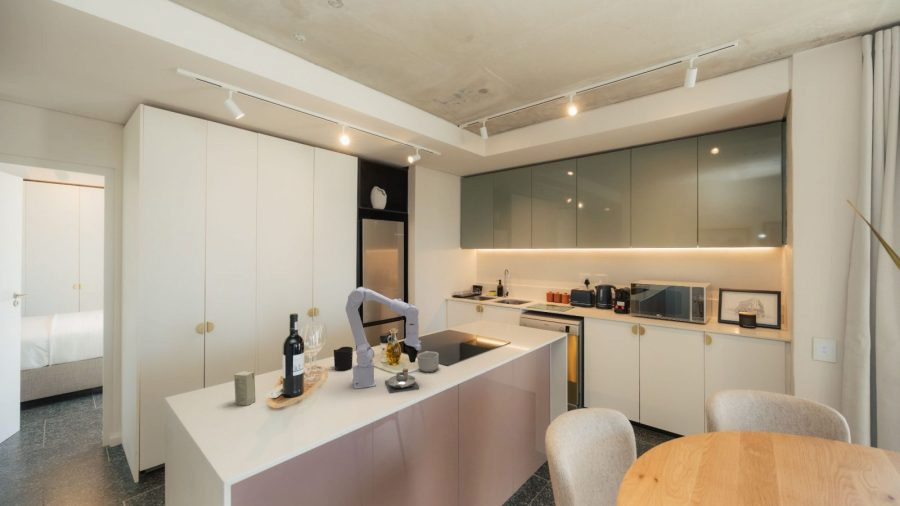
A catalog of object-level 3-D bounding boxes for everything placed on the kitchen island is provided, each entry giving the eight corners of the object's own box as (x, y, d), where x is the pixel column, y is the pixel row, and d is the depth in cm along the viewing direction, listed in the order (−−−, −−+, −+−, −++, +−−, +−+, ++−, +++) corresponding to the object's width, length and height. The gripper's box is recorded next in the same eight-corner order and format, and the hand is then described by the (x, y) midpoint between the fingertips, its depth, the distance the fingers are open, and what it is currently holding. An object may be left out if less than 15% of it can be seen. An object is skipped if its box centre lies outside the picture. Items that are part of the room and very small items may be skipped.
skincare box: (256, 401, 145) (255, 371, 144) (247, 406, 141) (246, 375, 140) (243, 399, 146) (242, 370, 146) (234, 404, 142) (233, 374, 142)
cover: (406, 381, 157) (406, 375, 157) (395, 381, 157) (395, 375, 157) (408, 377, 162) (408, 371, 162) (397, 377, 162) (397, 371, 162)
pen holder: (334, 366, 186) (333, 347, 186) (352, 364, 189) (352, 345, 189) (333, 372, 177) (333, 352, 177) (353, 370, 180) (353, 350, 180)
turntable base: (389, 393, 152) (389, 390, 151) (385, 382, 164) (385, 379, 164) (419, 389, 156) (419, 386, 156) (412, 378, 168) (412, 376, 168)
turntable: (411, 388, 153) (411, 380, 153) (384, 387, 154) (384, 380, 154) (418, 375, 168) (418, 368, 167) (393, 375, 169) (393, 368, 169)
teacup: (438, 373, 174) (438, 357, 174) (416, 373, 174) (416, 357, 174) (439, 364, 188) (439, 349, 188) (419, 364, 188) (419, 349, 188)
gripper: (427, 334, 157) (427, 365, 158) (413, 328, 170) (413, 356, 170) (412, 336, 154) (412, 367, 154) (399, 330, 166) (400, 358, 167)
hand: (412, 362), depth 162 cm, fingers closed
